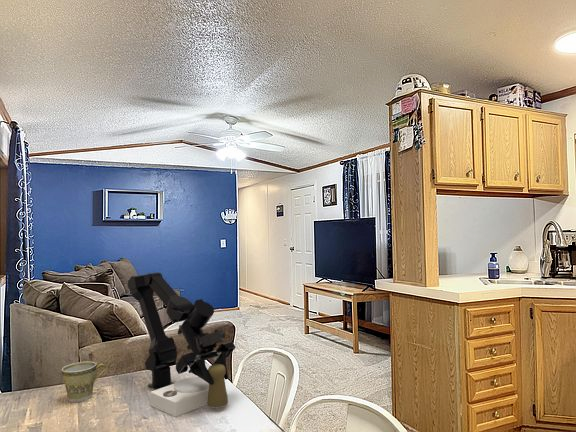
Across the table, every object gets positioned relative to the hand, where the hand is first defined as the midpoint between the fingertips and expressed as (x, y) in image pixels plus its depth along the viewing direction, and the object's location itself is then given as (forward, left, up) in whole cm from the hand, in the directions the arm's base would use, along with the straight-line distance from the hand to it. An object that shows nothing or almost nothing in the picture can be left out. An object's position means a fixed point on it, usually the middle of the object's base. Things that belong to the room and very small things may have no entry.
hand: (220, 381), depth 126 cm
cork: (-1, 0, -7) cm, 7 cm away
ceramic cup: (-43, -20, -8) cm, 48 cm away
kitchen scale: (-13, -3, -8) cm, 15 cm away
